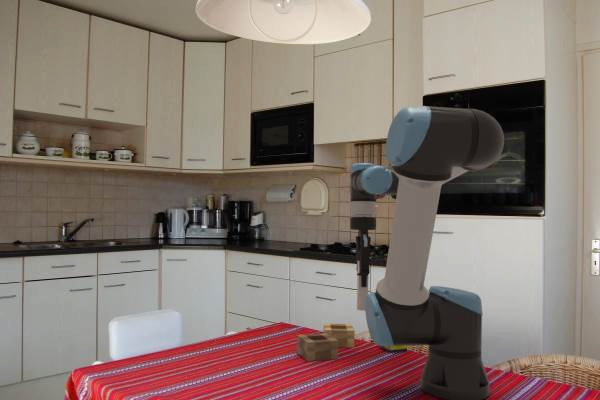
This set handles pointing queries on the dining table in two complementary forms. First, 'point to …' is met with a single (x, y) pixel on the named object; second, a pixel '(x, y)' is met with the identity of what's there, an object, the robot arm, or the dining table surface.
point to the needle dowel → (359, 300)
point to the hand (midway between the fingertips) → (362, 297)
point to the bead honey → (341, 333)
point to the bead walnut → (317, 347)
